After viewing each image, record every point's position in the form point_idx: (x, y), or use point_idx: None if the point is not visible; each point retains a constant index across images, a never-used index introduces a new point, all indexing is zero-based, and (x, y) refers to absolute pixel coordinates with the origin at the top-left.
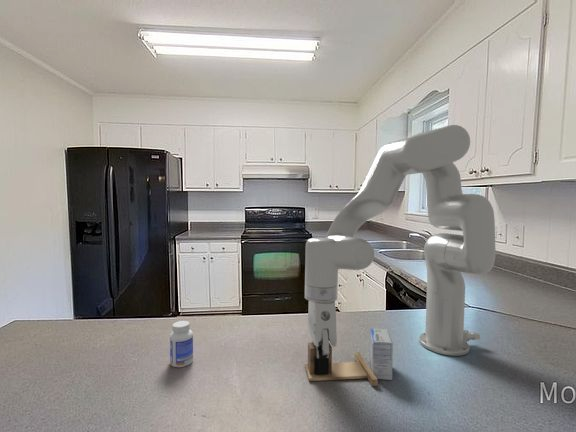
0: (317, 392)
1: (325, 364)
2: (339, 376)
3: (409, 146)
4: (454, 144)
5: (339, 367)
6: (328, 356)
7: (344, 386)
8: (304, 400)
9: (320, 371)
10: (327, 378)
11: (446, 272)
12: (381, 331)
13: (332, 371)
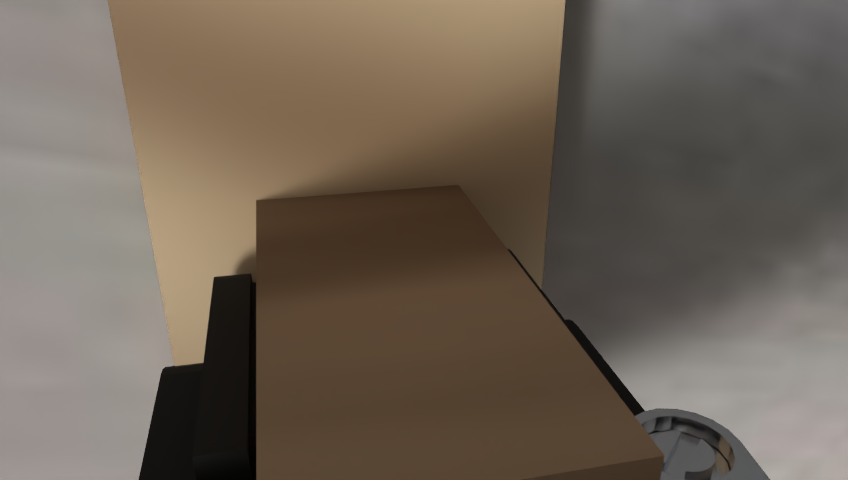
0: (693, 351)
1: (618, 384)
2: (550, 83)
3: None
4: None
5: (287, 15)
6: (739, 447)
7: (671, 36)
8: (762, 454)
9: None
10: (538, 246)
11: None
12: None
13: (408, 162)
